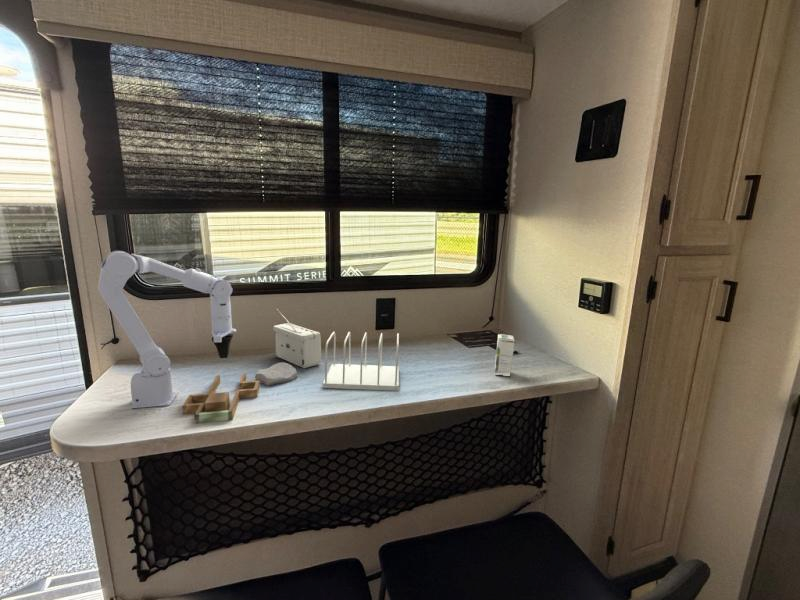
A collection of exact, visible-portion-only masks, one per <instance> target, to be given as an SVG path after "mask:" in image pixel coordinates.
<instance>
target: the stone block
mask: <svg viewBox="0 0 800 600" xmlns="http://www.w3.org/2000/svg"><path fill="white" fill-rule="evenodd" d="M254 376H255V381H260V383H261V384H264V385H265V386H272V385H277V384H281V383H286V382H290V381H293V380H294V379H296V378H297V377H298V372H297V369H296V368H295V367H294V366H292V365H291V364H290V363H288V362H287V363H286V362H277V363H275V364H272V365H271V366H269V367H268V368H264V369H261V368H259V369H258V370H257V371H256V372H255V374H254Z"/></svg>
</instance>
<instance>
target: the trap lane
mask: <svg viewBox="0 0 800 600" xmlns="http://www.w3.org/2000/svg"><path fill="white" fill-rule="evenodd" d="M220 383H221V375H219V374H218V375H216V376H215V377H214V379H213V381H212V383H211V385H210V387H209V389H208V390H207V392H206V393H198V394H197V393H196V394H189V395H188V397H187V398H186V399H185V401H184V402H183V404H182V406H181V407H182V409H181V410H182V415H189V414H194V424H205V423H212V422H213V423H214V422H222V421H232V420H234V417H235V414H236V411H237V408H238V406H239V402H240V399H248V398H250V399H251V398H258V396H259V392H260V388H261V386H260V383H261V382H260V381H257V380H250V381H247V373H242V374H241V377H240V379H239V382H238V389H236V390H235V391H234V395H233V397H232V400H231V403H230V407H229V410H225V411H214V412H205V402H206V400H207V398H208V396H209V394H211V393H217V392H216V391H217V389H218V388H219V385H220Z"/></svg>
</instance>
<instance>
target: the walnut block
mask: <svg viewBox="0 0 800 600" xmlns="http://www.w3.org/2000/svg"><path fill="white" fill-rule="evenodd" d="M230 405H231V403H230V391H226V392H215V393H211V394H209V396H208V398H207V400H206V402H205V412H214V411H225V410H229V408H230Z"/></svg>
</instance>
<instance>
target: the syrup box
mask: <svg viewBox="0 0 800 600" xmlns="http://www.w3.org/2000/svg"><path fill="white" fill-rule="evenodd" d="M514 349H515V337H514V335H510V334H504V333H503V334H502V333H500V334H497V341H496V349H495V358H494V359H495V361H494V369H495V372H494V374H495V373H511V374H512V367H513V356H514V351H515V350H514Z"/></svg>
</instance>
